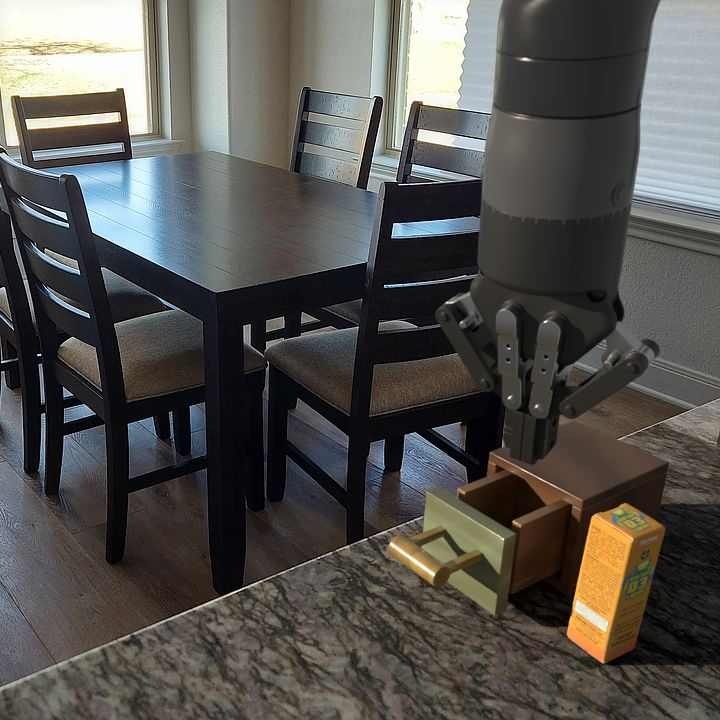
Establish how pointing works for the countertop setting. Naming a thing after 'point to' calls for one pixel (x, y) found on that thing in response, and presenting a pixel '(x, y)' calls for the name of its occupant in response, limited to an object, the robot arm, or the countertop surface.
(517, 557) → the drawer
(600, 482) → the cabinet
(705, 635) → the countertop surface
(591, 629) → the supplement box
